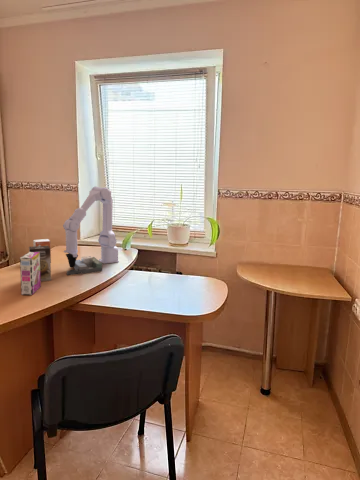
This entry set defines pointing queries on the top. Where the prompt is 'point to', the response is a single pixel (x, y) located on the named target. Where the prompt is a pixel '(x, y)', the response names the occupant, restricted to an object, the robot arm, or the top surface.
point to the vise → (96, 268)
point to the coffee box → (43, 261)
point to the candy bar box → (30, 273)
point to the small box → (42, 244)
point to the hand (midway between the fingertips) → (72, 267)
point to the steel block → (87, 261)
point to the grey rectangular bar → (80, 265)
